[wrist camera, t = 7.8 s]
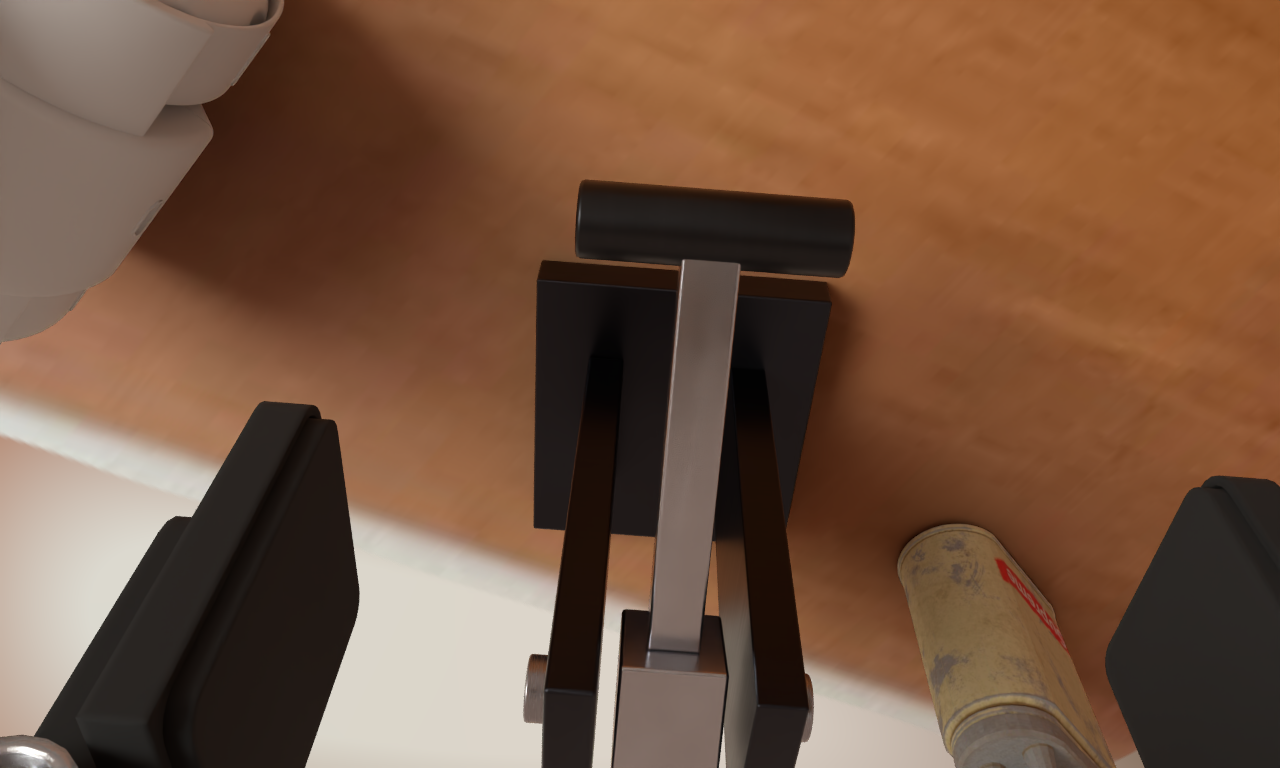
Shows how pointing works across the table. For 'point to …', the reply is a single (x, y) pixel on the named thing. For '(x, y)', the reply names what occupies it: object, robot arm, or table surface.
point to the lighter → (995, 657)
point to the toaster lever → (694, 433)
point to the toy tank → (102, 132)
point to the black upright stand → (630, 478)
